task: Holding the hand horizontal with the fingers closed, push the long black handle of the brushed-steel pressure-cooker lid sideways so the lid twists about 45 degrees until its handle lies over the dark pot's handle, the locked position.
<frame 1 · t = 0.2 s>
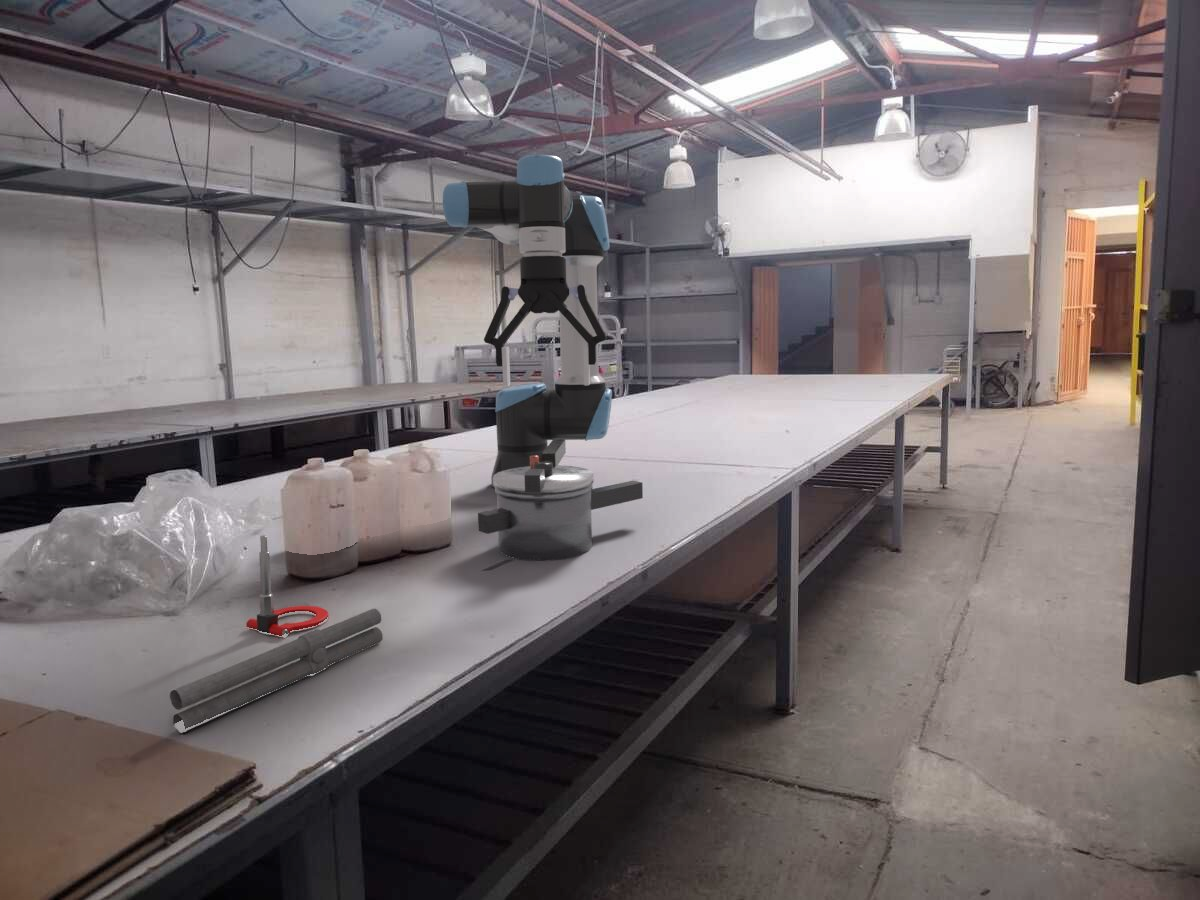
hand: (546, 385, 136), 28 cm above the table, tool pointing down, fingers open, 13 cm apart
pot: (545, 546, 139), on the table
metal rod assembly: (292, 685, 90), on the table
lid: (547, 464, 142), point 13 cm above the table, hinge at 0.0°
tow hook: (292, 625, 107), on the table
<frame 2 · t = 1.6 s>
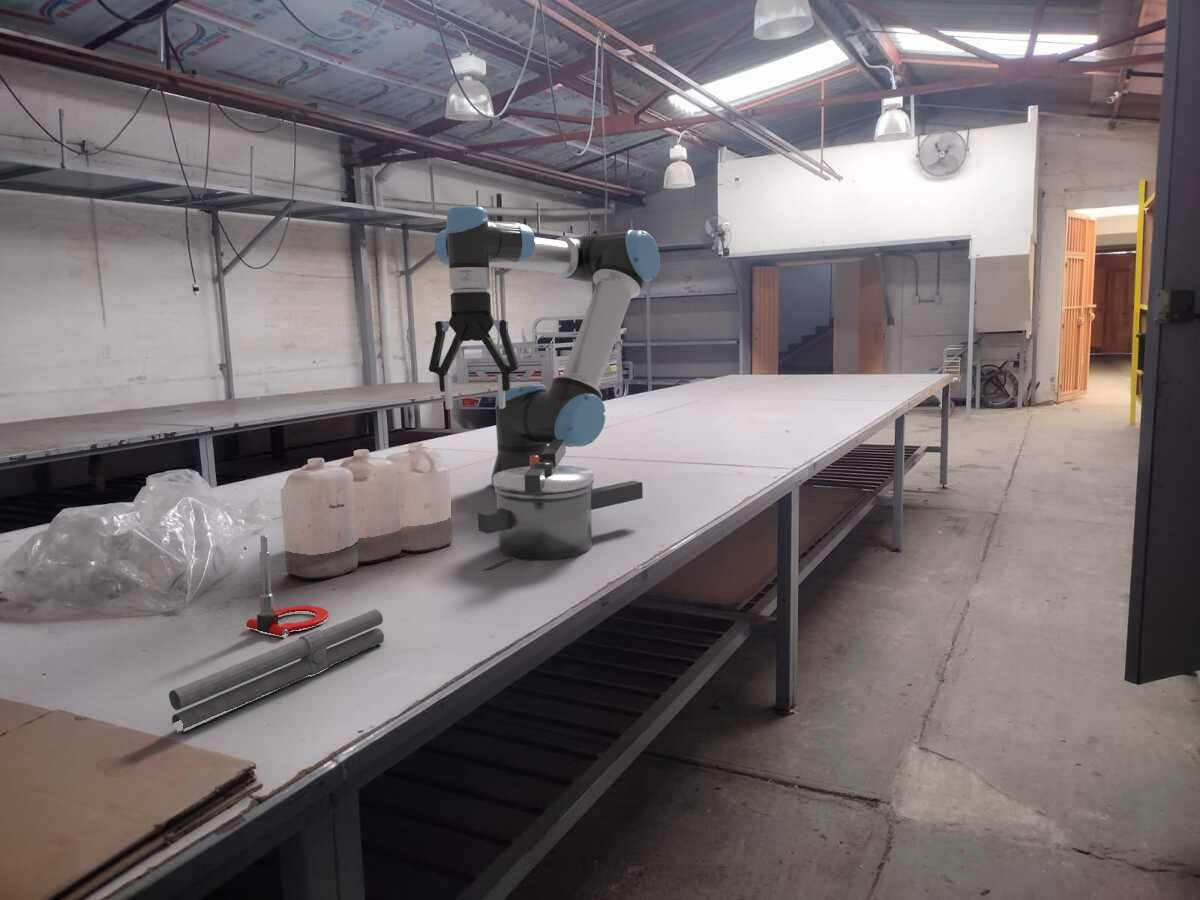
hand: (475, 408, 157), 22 cm above the table, tool pointing down, fingers open, 10 cm apart
nothing on the table moved.
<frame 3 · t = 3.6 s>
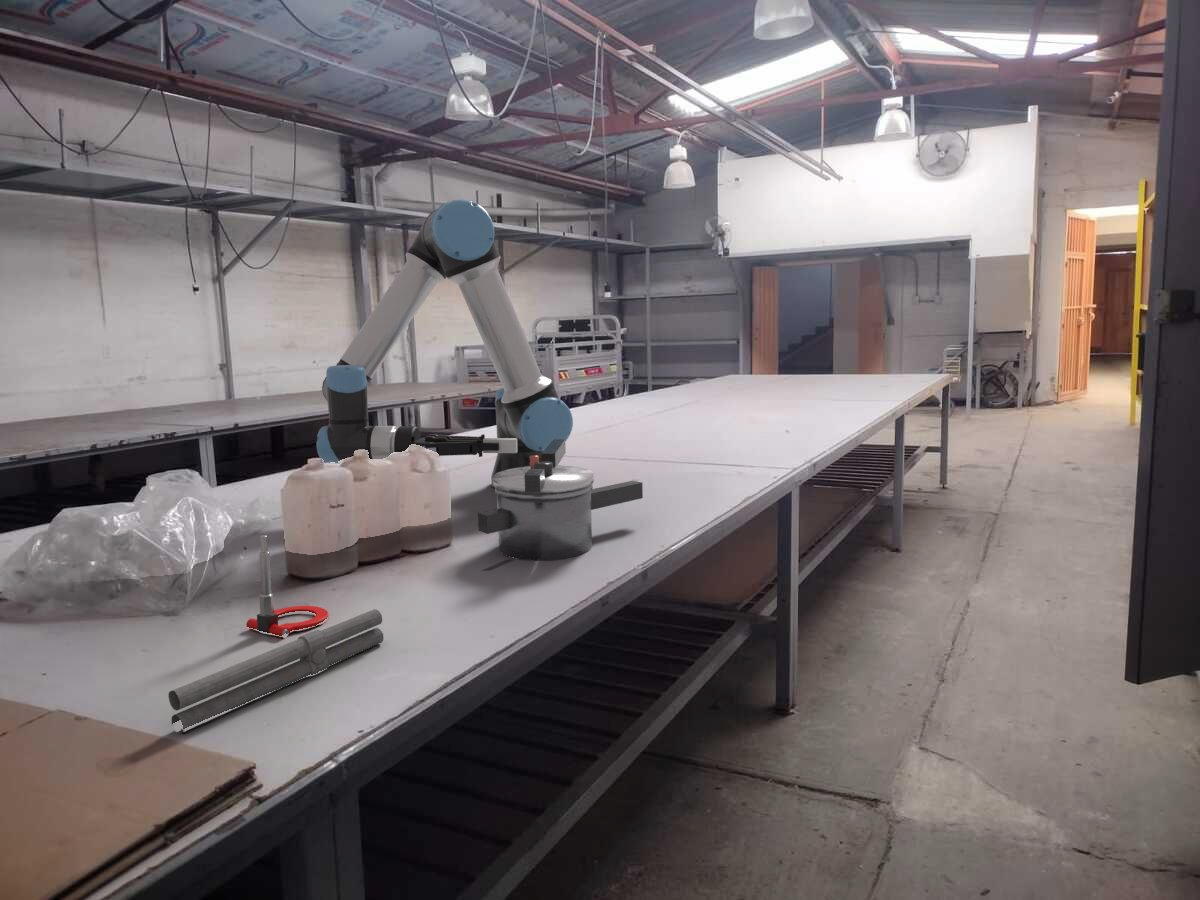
hand: (516, 445, 158), 14 cm above the table, tool horizontal, fingers closed
nothing on the table moved.
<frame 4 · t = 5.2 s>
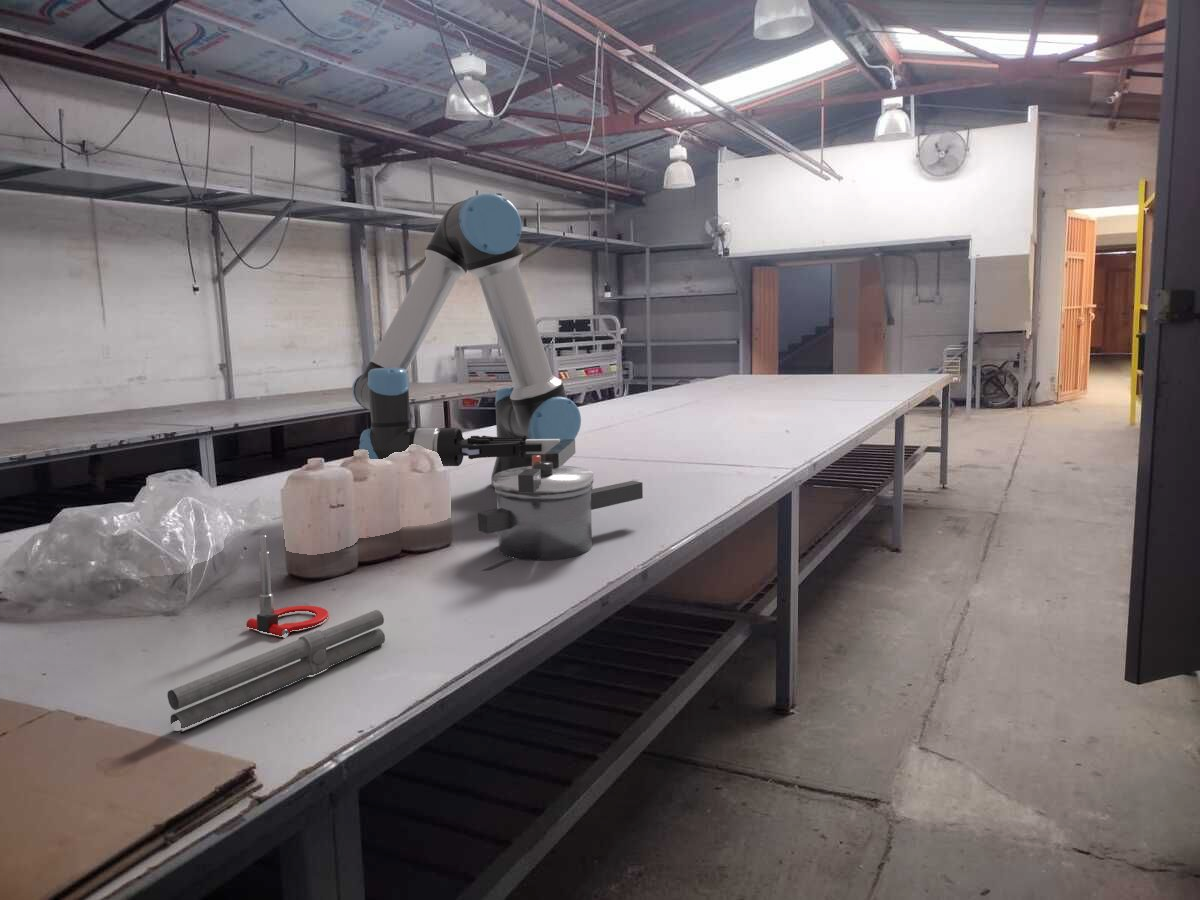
hand: (559, 446, 157), 14 cm above the table, tool horizontal, fingers closed
lid: (550, 464, 142), point 13 cm above the table, hinge at 4.9°, touching gripper
everything else where it was.
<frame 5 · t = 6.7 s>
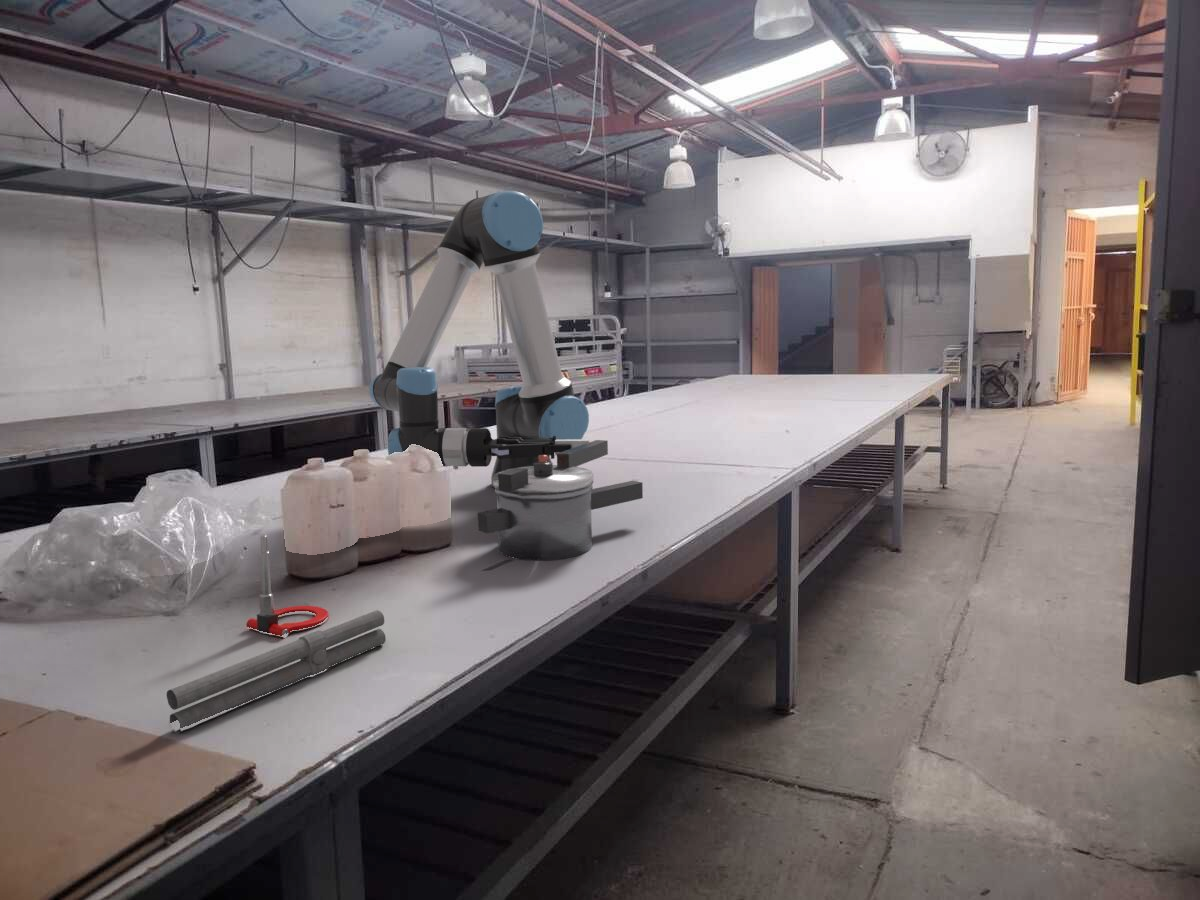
hand: (588, 446, 156), 14 cm above the table, tool horizontal, fingers closed
lid: (558, 465, 142), point 13 cm above the table, hinge at 21.9°, touching gripper
everything else where it was.
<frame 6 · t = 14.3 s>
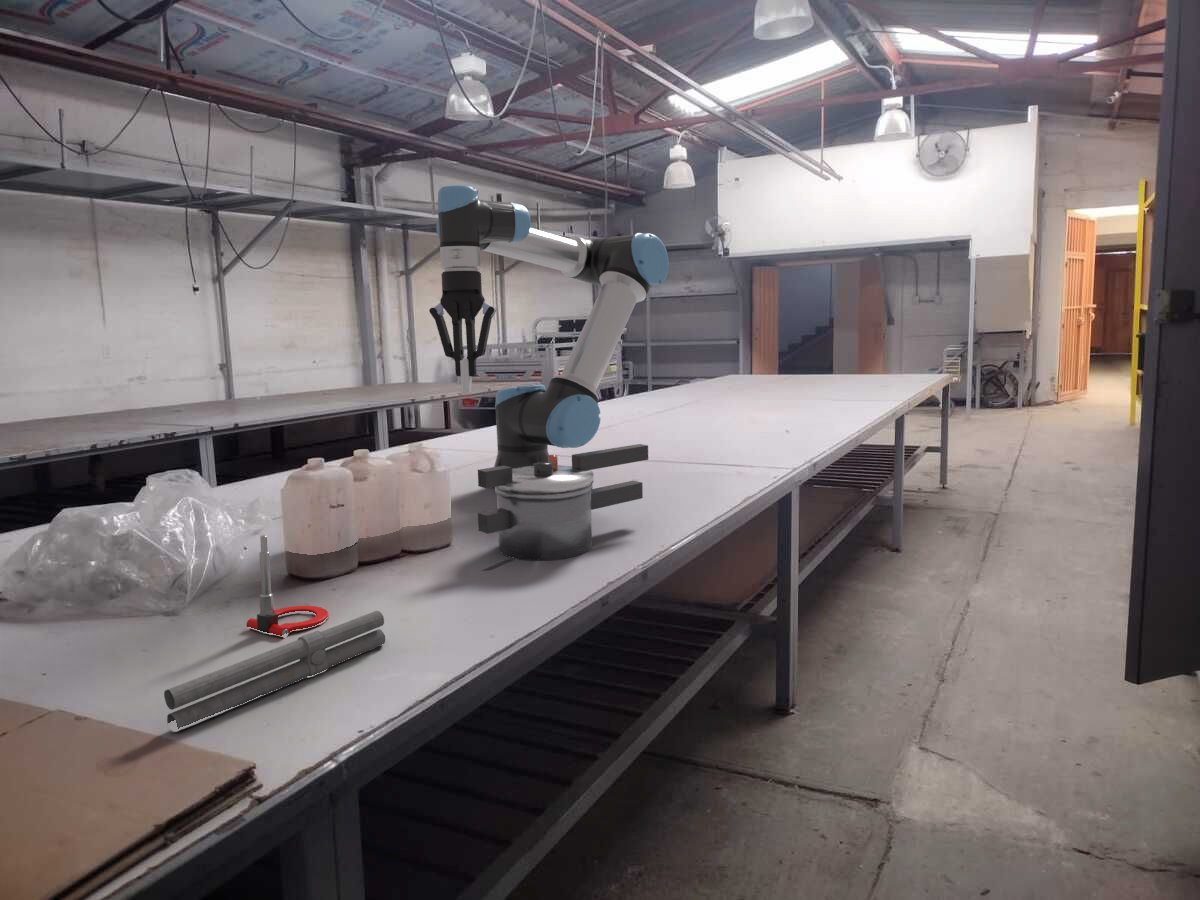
hand: (467, 392, 159), 24 cm above the table, tool pointing down, fingers closed
lid: (569, 466, 140), point 13 cm above the table, hinge at 46.9°
everything else where it was.
at the end: lid at +47° (first picture: +0°); lid touching nothing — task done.
